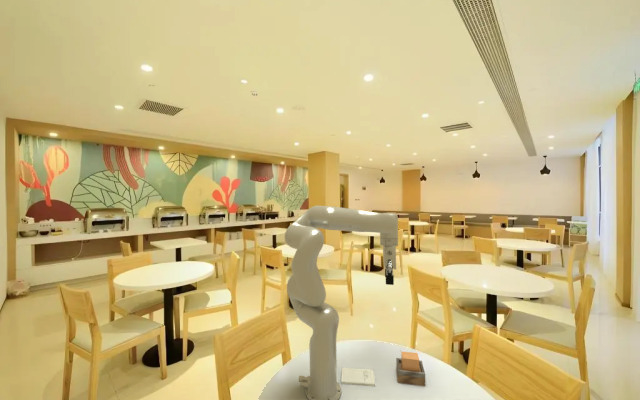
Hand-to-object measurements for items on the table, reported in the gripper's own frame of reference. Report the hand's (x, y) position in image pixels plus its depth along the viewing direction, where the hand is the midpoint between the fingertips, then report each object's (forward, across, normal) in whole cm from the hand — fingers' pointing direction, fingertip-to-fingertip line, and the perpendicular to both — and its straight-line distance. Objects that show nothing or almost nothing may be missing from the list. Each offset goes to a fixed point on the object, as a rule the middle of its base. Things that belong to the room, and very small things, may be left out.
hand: (389, 280), depth 118 cm
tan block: (+29, -14, -7) cm, 33 cm away
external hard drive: (+33, -18, +13) cm, 40 cm away
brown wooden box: (+32, -14, -7) cm, 36 cm away
